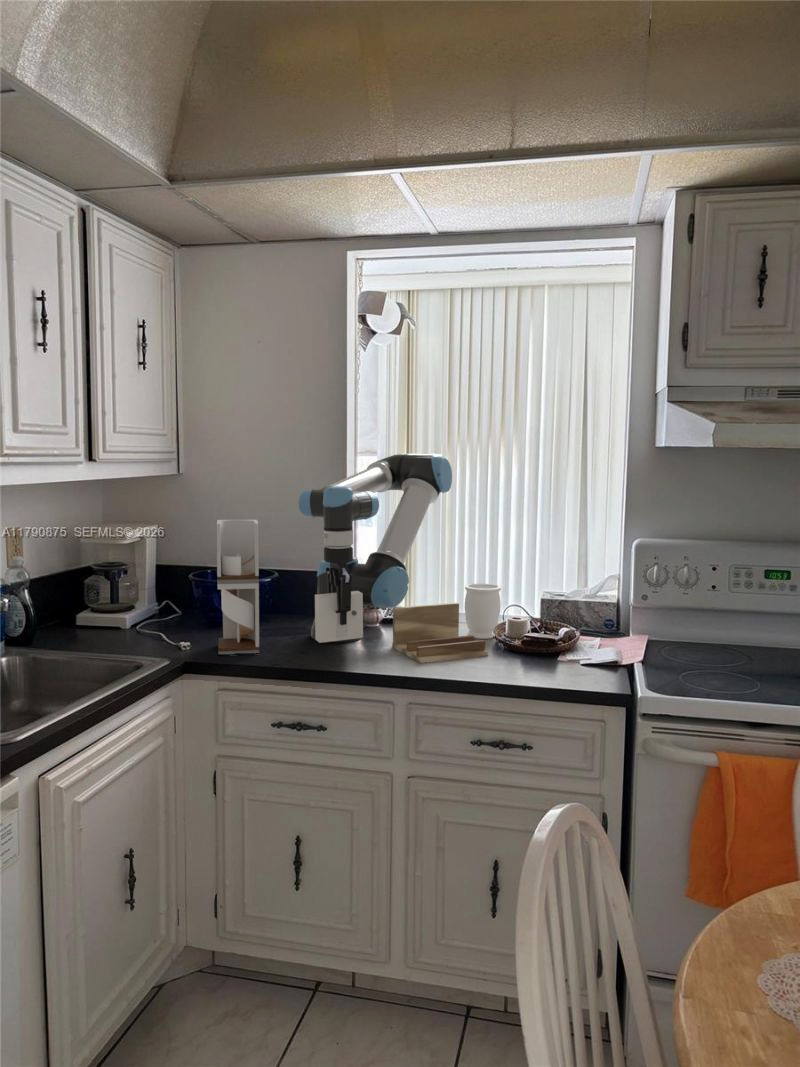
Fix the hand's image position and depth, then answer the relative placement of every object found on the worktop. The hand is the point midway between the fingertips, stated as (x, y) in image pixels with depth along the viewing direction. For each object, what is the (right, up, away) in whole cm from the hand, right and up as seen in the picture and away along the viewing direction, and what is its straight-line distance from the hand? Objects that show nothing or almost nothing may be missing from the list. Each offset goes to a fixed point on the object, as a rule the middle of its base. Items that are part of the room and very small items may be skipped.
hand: (339, 634), depth 210 cm
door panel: (0, -1, 0) cm, 1 cm away
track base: (+27, -6, +8) cm, 28 cm away
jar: (+40, -4, +26) cm, 48 cm away
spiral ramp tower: (-28, -5, +7) cm, 29 cm away
